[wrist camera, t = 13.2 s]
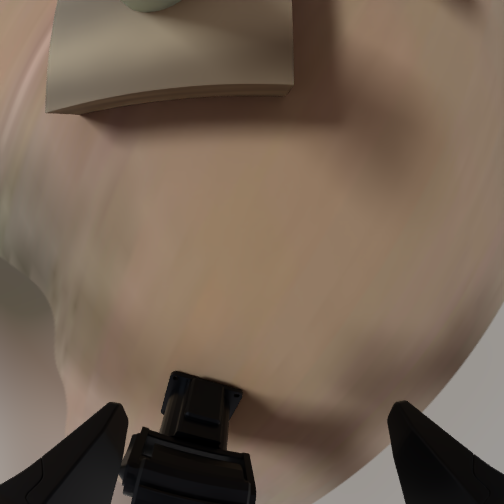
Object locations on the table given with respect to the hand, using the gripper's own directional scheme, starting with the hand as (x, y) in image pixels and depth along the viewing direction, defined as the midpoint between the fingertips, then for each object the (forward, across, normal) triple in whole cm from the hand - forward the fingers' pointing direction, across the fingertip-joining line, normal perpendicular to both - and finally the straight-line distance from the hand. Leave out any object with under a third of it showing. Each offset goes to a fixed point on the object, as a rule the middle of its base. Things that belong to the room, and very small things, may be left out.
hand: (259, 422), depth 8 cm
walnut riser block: (+13, +5, -18) cm, 23 cm away
